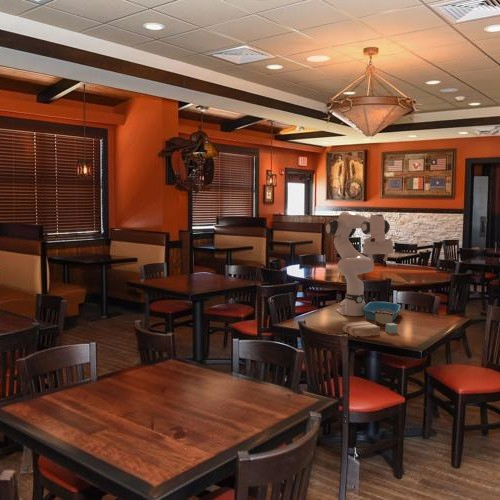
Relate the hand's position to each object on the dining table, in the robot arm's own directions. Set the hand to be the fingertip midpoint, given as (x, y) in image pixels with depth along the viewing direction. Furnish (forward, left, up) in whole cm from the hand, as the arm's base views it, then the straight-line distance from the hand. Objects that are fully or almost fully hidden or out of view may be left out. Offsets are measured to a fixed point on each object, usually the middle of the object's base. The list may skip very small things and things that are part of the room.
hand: (378, 261), depth 347 cm
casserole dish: (-16, +14, -40) cm, 46 cm away
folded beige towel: (+17, -22, -40) cm, 49 cm away
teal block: (+22, -4, -40) cm, 46 cm away
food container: (+9, 0, -40) cm, 41 cm away
